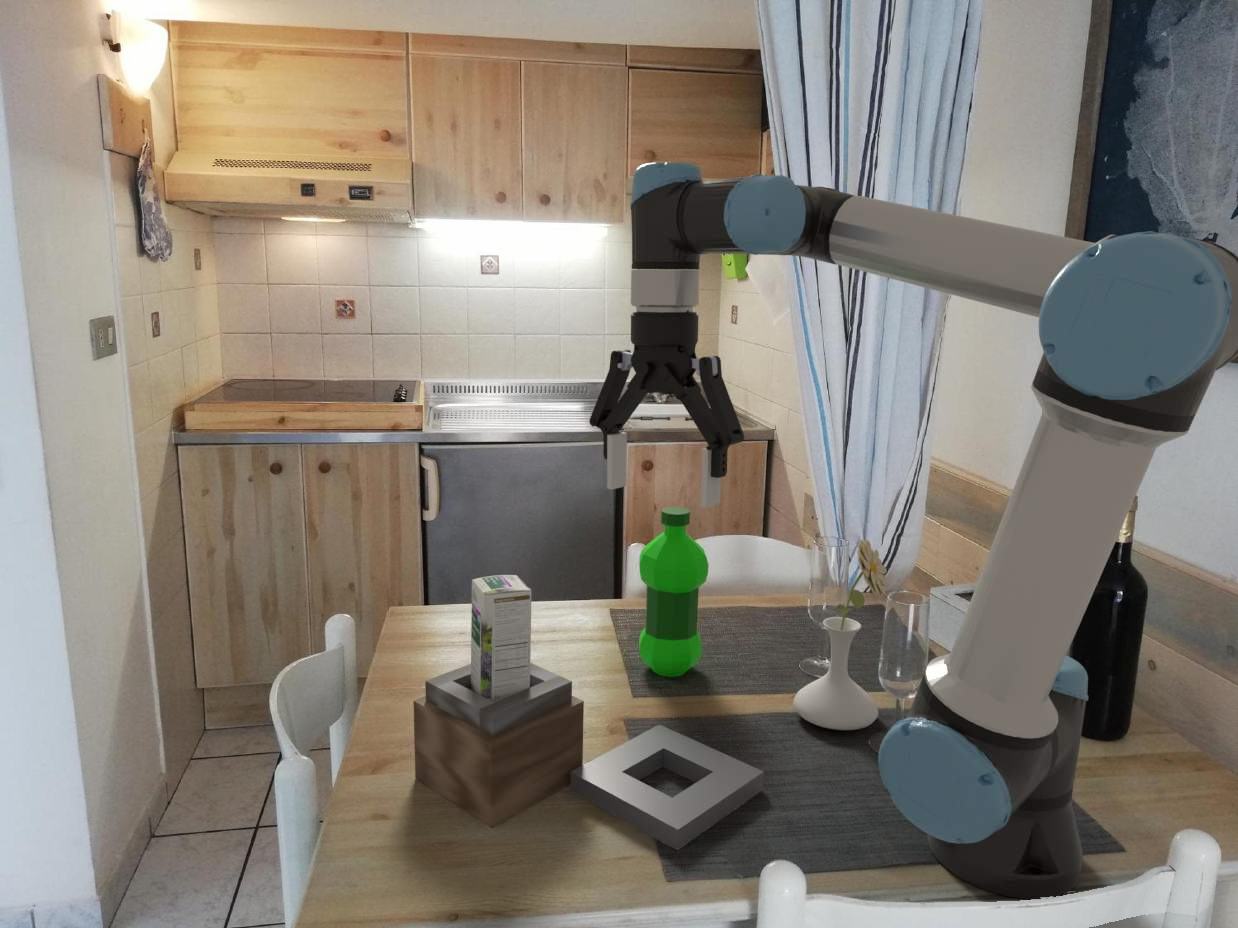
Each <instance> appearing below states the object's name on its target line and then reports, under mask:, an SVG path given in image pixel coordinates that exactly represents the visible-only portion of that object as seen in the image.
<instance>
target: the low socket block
mask: <svg viewBox="0 0 1238 928" xmlns="http://www.w3.org/2000/svg"><path fill="white" fill-rule="evenodd" d="M662 768H665V769H667V770H668V771H671V772H673V773H675V774H677V775H679V776H682V777H683V778H685V779H687V780H688V781H692V782H693V784H692V785H690V786H689V787H687V788H685V789H684V790H682V791H681V792H679V793H677V794H676V795H675V796H673V797H671V796H670V795H668V794H666V793H664V792H662V791H660V790H658V789H656V788H654V787H653V786H651V785H648V784H646V783H644V782H642V781H641V780H643V779H645V778H646V777H648V776H650V775H652V774H653V773H654V772H656V771H658V770H659V769H662ZM764 773H765V771H763V770H761V769H759V768H756V767H755V766H752V765H750V764H748V763H746V762H743V761H741V760H738V759H737V758H735V757H732V756H730V755H728V754H726V753H723V752H722V751H719V750H717V749H715V748H713V747H710V746H708V745H706V744H703V743H701V742H699V741H696V740H694V739H693V738H690V737H688V736H686V735H684V734H681V733H679V732H676V731H675V730H673V729H670V728H668V727H666V726H664V725H661V724H657V725H656V726H654V727H651V728H650V729H648V730H646V731H644V732H642V733H641V734H639V735H637V736H635V737H633V738H631V739H630V740H627V741H626V742H624V743H622V744H620V745H618V746H617V747H614V748H613V749H611V750H609V751H607V752H605V753H603V754H601V755H599V756H598V757H595V758H594V759H593V760H590V761H588V762H587V763H585V764H583V766H581V767H579V768H577V769H575V770H573V771H571V781H570V785H569V786H570V789H569V790H570V793H572V794H575V795H577V796H578V797H580V798H582V799H583V800H585V801H587V802H588V803H591V804H592V805H594V806H595V807H598V808H600V809H602V810H604V812H607V813H609V814H611V815H612V816H614V817H616V818H618V819H619V820H621V821H623V822H625V823H626V824H628V825H630V826H632V827H633V828H635V827H636V828H635V829H638V830H639V831H641V832H642V833H644V834H646V835H648V836H650V837H652V838H653V839H655V840H657V839H658V840H660V841H662V842H664V843H665V844H664V843H663V844H664V845H666V844H667V845H670V846H671V847H673V848H674V849H673V848H672V849H673V850H675V849H679V848H680V847H682V846H683V845H684V844H686V843H687V842H689V840H692V839H693V838H694V837H696V836H697V835H698V834H699V833H701V832H703V831H704V830H705V829H707V828H708V827H710V826H712V824H715V823H716V822H717V821H719V820H720V819H722V818H723V817H725V816H726V815H727V814H729V813H730V812H731V811H733V810H734V809H735V808H737V807H738V806H739V805H741V804H743V803H744V802H745V801H747V800H749V799H750V798H752V797H753V798H754V796H755V795H756V796H757V795H758V794H757V793H759V792H760V793H762V792H763V791H762V790H764ZM761 791H762V792H761ZM760 793H759V794H760ZM756 796H755V797H756ZM753 798H752V799H753ZM750 800H751V799H750ZM750 800H749V801H750ZM747 802H748V801H747ZM743 805H744V804H743ZM737 809H738V808H737ZM733 812H734V811H733ZM730 814H731V813H730ZM730 814H729V815H730ZM727 816H728V815H727ZM727 816H726V817H727ZM726 817H725V818H726ZM723 819H724V818H723ZM723 819H722V820H723ZM720 821H721V820H720ZM720 821H719V822H720ZM716 824H717V823H716ZM716 824H715V825H716ZM712 827H713V826H712ZM710 828H711V827H710ZM703 833H704V832H703ZM696 838H697V837H696ZM658 840H657V841H658ZM693 840H694V839H693ZM693 840H692V841H693ZM660 841H659V842H660ZM662 842H661V843H662ZM689 843H690V842H689ZM667 845H666V846H667ZM686 845H687V844H686ZM671 847H670V848H671ZM683 847H684V846H683ZM683 847H682V848H683ZM679 850H680V849H679Z"/></svg>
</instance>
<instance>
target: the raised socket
mask: <svg viewBox="0 0 1238 928" xmlns="http://www.w3.org/2000/svg"><path fill="white" fill-rule="evenodd" d="M424 683H425V684H424V685H425V695H424V696H422V697H419V698H417V699H414V700H413V730H414V731H413V732H414V733H413V734H414V736H413V737H414V738H413V740H414V771H415V772H414V775H415V778H414V779H416V780H417V781H419V782H421V783H422V784H423V785H425V786H427V787H428V788H430V789H431V790H433V791H434V792H436V793H438V794H439V795H440V796H442V797H444V799H447V800H448V801H449V802H452V803H453V804H455V806H458V807H459V808H461V809H462V810H464V811H466V812H467V813H468V814H470V815H471V816H473V817H475V818H476V819H477V820H479V821H481V822H482V823H484V824H486V825H487V826H489V827H490V828H494V827H496V826H498V825H499V824H501V823H503V822H505V821H506V820H508V819H510V818H512V817H514V816H516V815H517V814H518V815H519V814H520V813H522V812H523V811H525V810H527V809H528V808H530V807H533V806H534V805H536V804H537V803H539V802H541V801H544V800H545V799H547V798H549V797H550V796H553V795H554V794H556V793H558V792H560V791H561V790H564V789H565V788H567V787H569V786H570V781H571V771H573V770H575V769H577V768H579V767H581V766H583V765H584V764H583V761H584V760H583V758H584V755H583V754H584V752H583V750H584V707H585V706H584V705H585V703H584V702H585V701H584V700H582V699H580V698H578V697H575V696H573V693H572V692H573V681H572V680H570V679H568V678H565V677H564V676H561V675H558V674H557V673H555V672H553V671H550V670H548V669H545V668H543V667H541V666H538V665H537V664H534V663H532V662H530V688H528V689H526V690H523V691H521V692H519V693H516V694H514V695H512V696H509V697H507V698H505V699H502V700H500V701H497V702H493V701H491V700H489V699H487V698H485V697H483V696H481V695H479V694H477V693H475V692H473V691H471V663H469V664H466V665H463V666H461V667H458V668H456V669H454V670H450V671H448V672H446V673H443V674H439V675H438V676H434V677H431V678H429V679H427V680H425V682H424Z"/></svg>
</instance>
